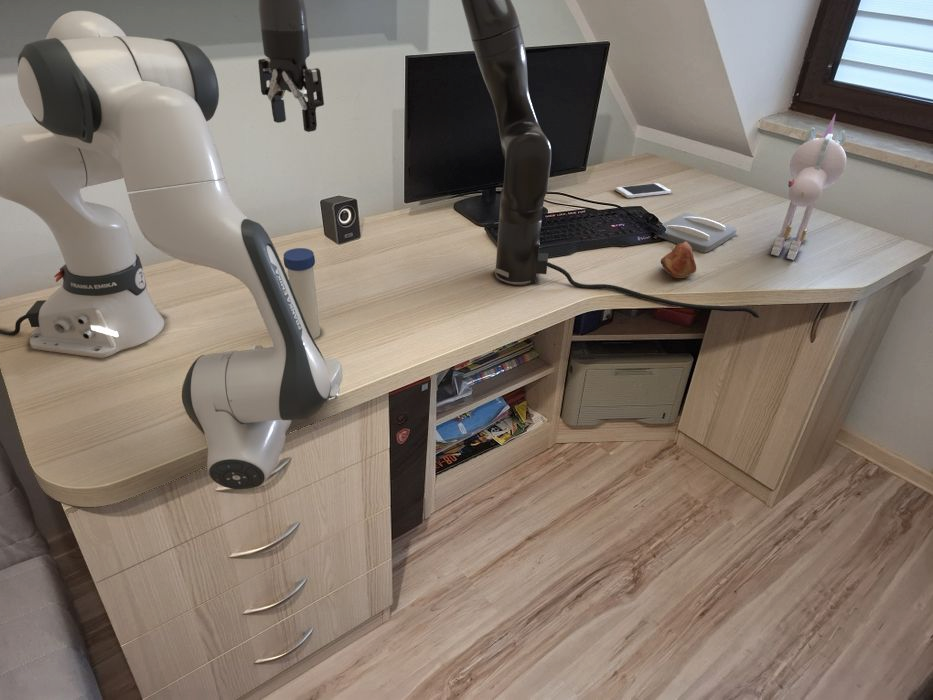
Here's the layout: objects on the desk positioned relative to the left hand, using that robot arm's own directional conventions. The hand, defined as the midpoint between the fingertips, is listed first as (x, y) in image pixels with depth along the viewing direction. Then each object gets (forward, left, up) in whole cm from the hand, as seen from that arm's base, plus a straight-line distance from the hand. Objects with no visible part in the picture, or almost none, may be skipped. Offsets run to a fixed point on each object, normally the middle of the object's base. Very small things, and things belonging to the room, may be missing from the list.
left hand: (286, 349), depth 107 cm
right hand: (-1, +28, +29) cm, 41 cm away
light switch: (+92, +66, -6) cm, 113 cm away
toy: (+117, +65, -6) cm, 134 cm away
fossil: (+80, +43, -6) cm, 91 cm away
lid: (0, +14, +10) cm, 18 cm away
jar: (0, +14, -6) cm, 15 cm away
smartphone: (+86, +98, -6) cm, 130 cm away
